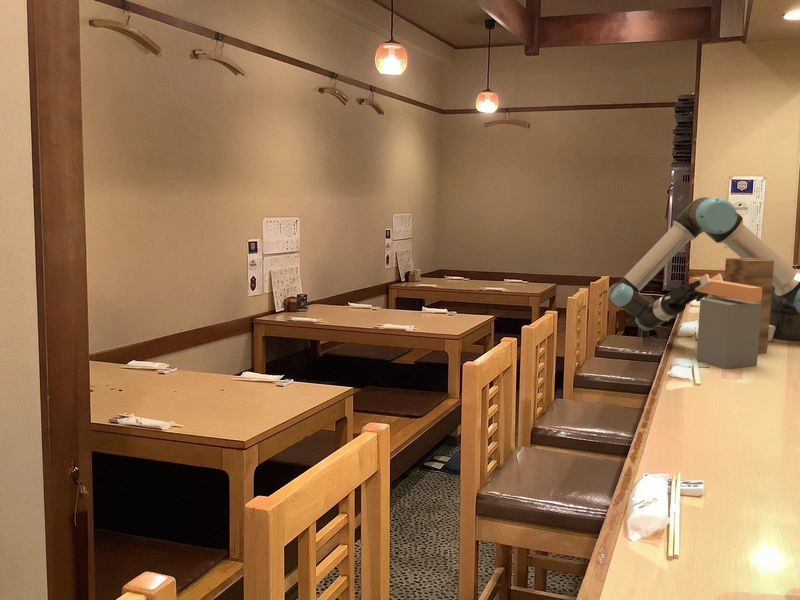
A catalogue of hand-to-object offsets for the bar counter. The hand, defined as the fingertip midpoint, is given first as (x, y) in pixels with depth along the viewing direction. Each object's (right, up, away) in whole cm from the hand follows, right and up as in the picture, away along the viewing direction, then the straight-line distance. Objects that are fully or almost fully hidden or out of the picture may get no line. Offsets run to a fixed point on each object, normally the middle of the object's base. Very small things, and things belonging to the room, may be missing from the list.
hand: (714, 277), depth 237 cm
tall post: (+15, -23, +15) cm, 32 cm away
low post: (+2, -26, -3) cm, 26 cm away
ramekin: (+29, -21, +34) cm, 49 cm away
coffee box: (+34, -14, +83) cm, 91 cm away
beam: (+1, -5, -3) cm, 6 cm away
